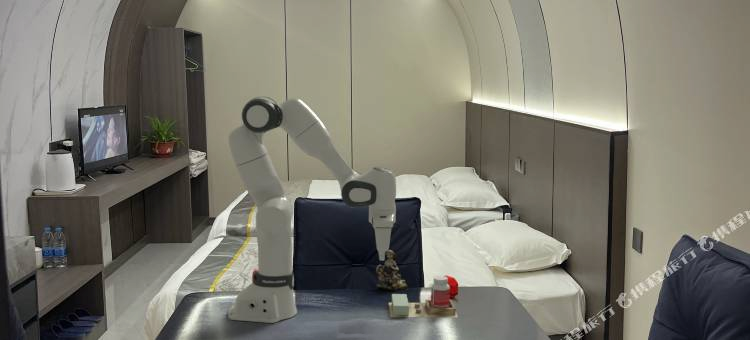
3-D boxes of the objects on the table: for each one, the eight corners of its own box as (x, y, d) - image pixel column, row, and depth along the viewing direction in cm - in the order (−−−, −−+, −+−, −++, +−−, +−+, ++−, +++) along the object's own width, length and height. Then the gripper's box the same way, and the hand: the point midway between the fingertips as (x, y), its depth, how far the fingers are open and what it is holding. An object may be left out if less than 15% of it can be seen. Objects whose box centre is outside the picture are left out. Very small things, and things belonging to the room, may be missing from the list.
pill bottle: (452, 310, 225) (453, 278, 224) (438, 314, 222) (439, 281, 220) (441, 305, 230) (441, 274, 229) (426, 308, 227) (427, 276, 225)
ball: (446, 303, 236) (447, 282, 235) (430, 297, 242) (430, 277, 241) (461, 298, 242) (462, 278, 241) (445, 293, 248) (445, 272, 247)
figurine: (373, 293, 247) (373, 253, 245) (379, 284, 257) (380, 246, 255) (404, 295, 244) (405, 255, 242) (410, 287, 254) (410, 248, 252)
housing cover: (393, 315, 220) (393, 305, 219) (391, 303, 231) (391, 294, 231) (408, 315, 220) (408, 305, 219) (406, 303, 232) (406, 294, 231)
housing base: (390, 320, 219) (390, 310, 218) (388, 305, 233) (388, 297, 232) (457, 320, 219) (458, 311, 219) (452, 306, 233) (452, 297, 233)
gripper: (372, 210, 231) (371, 249, 233) (373, 223, 211) (372, 265, 213) (390, 210, 231) (389, 249, 233) (393, 223, 211) (392, 266, 213)
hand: (381, 257), depth 223 cm, fingers open, 4 cm apart
